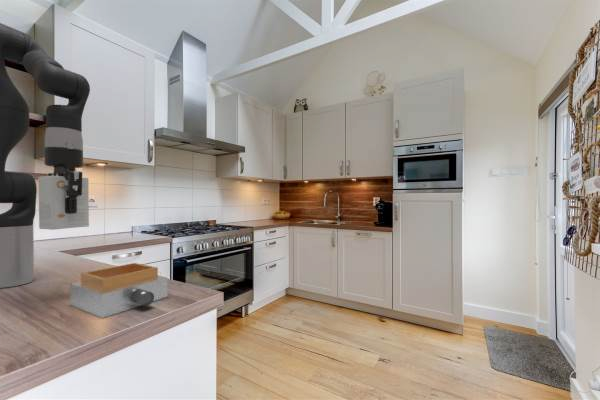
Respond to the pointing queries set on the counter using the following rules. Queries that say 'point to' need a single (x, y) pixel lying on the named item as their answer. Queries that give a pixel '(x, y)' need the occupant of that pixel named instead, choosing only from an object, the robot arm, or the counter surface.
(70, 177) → the robot arm
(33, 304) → the counter surface
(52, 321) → the counter surface
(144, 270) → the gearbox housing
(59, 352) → the counter surface
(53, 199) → the small box
